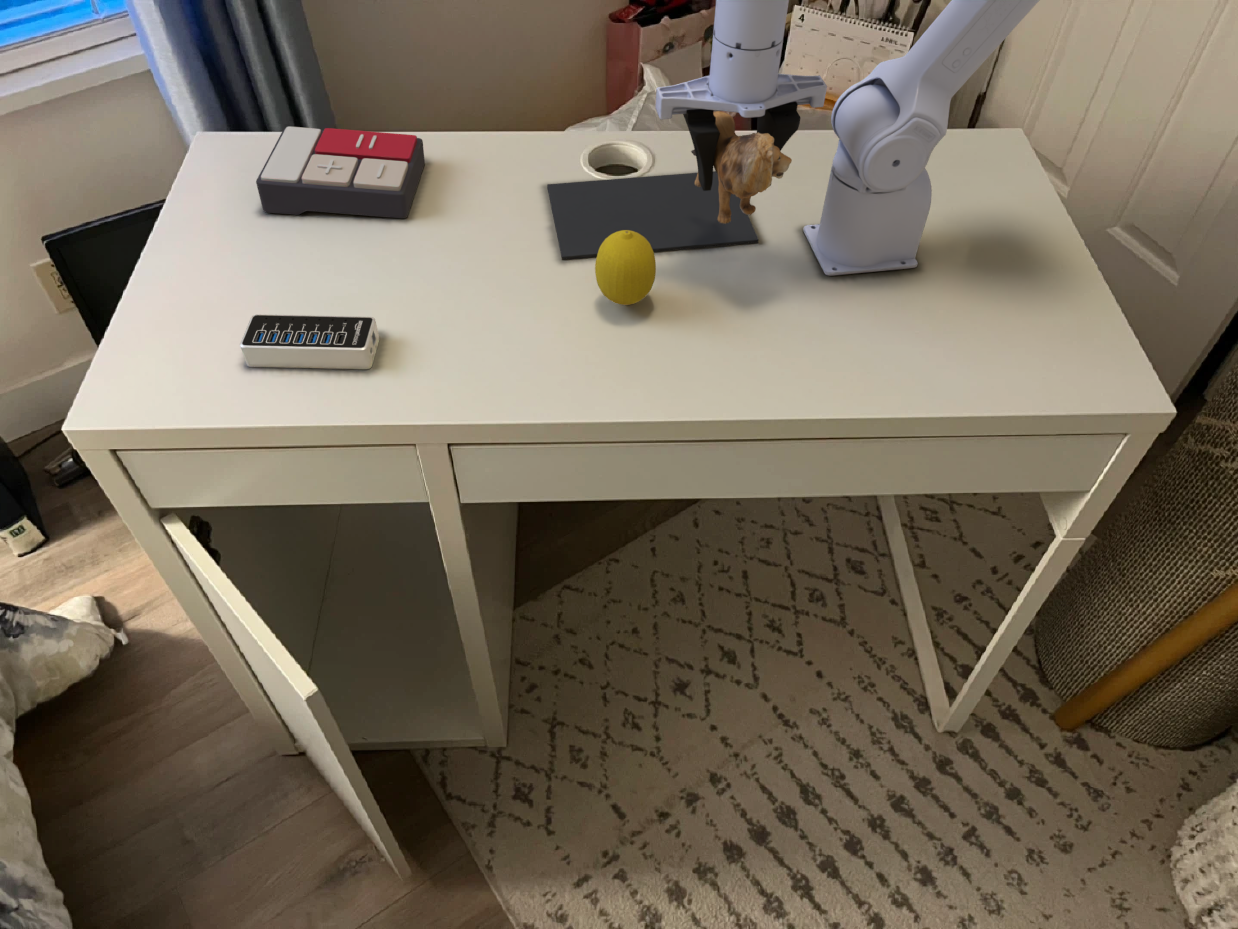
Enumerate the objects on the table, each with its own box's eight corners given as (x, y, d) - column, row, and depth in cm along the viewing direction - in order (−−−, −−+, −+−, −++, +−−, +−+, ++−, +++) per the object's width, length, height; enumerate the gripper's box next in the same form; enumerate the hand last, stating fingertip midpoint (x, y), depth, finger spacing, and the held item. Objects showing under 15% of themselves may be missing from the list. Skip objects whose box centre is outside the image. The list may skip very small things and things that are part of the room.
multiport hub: (259, 333, 85) (252, 313, 83) (380, 335, 85) (375, 316, 83) (245, 366, 82) (237, 346, 80) (371, 369, 82) (366, 349, 80)
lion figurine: (789, 231, 84) (802, 139, 77) (736, 246, 83) (744, 155, 76) (714, 151, 93) (720, 62, 86) (666, 163, 92) (667, 75, 85)
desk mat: (727, 173, 104) (728, 169, 103) (758, 242, 95) (758, 239, 95) (547, 187, 101) (547, 183, 101) (562, 260, 93) (562, 256, 93)
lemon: (648, 326, 86) (651, 254, 80) (589, 317, 87) (588, 245, 81) (658, 289, 90) (662, 217, 84) (602, 281, 91) (602, 210, 85)
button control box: (403, 187, 94) (252, 175, 94) (407, 224, 97) (262, 212, 97) (422, 131, 101) (282, 119, 101) (426, 166, 105) (290, 155, 104)
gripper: (671, 63, 73) (663, 213, 83) (849, 50, 75) (819, 199, 85) (653, 23, 78) (647, 170, 88) (821, 12, 79) (796, 158, 90)
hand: (730, 182), depth 87 cm, fingers closed on lion figurine, 4 cm apart
